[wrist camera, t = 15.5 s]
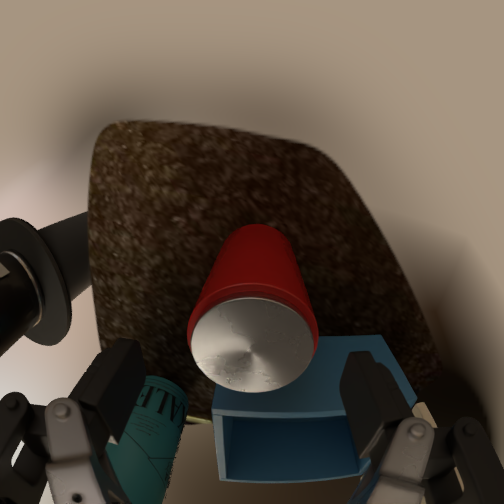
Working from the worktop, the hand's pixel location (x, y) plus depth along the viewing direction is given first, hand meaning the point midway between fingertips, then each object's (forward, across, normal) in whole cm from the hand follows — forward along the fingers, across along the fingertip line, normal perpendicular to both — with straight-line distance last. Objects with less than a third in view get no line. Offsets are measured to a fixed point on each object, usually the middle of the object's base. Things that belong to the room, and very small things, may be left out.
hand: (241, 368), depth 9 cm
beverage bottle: (+12, +8, +15) cm, 21 cm away
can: (+12, -1, 0) cm, 12 cm away
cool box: (+12, -6, +13) cm, 19 cm away
